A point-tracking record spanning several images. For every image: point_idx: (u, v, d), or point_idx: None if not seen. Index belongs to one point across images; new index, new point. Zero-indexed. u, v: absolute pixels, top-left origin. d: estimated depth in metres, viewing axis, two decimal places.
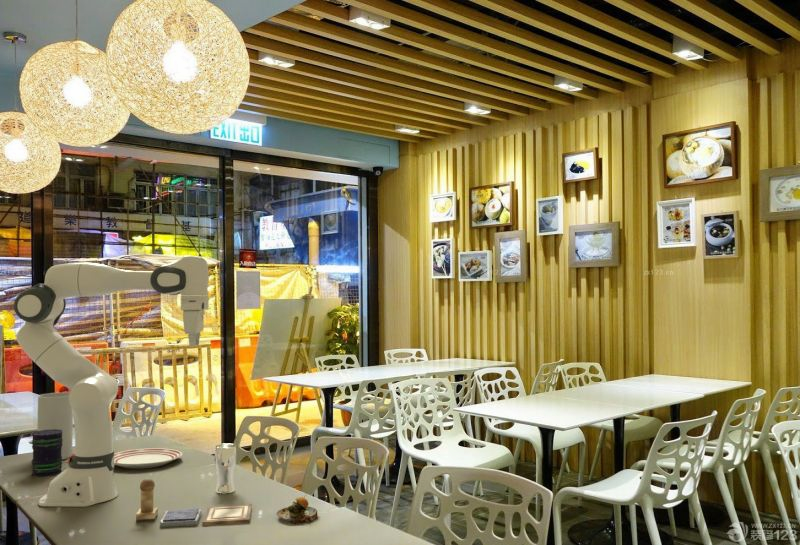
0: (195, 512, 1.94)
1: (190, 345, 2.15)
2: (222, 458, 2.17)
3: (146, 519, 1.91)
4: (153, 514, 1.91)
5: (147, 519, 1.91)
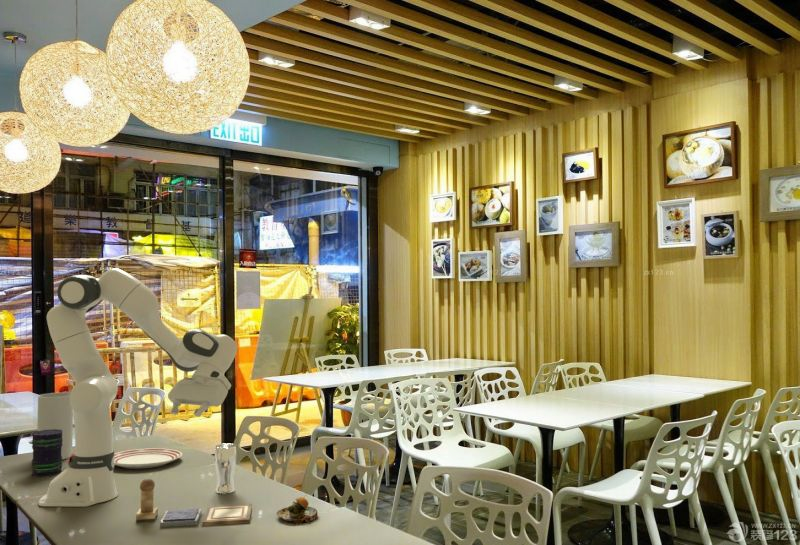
0: (195, 512, 1.94)
1: (198, 412, 2.05)
2: (222, 458, 2.17)
3: (146, 519, 1.91)
4: (153, 514, 1.91)
5: (147, 519, 1.91)
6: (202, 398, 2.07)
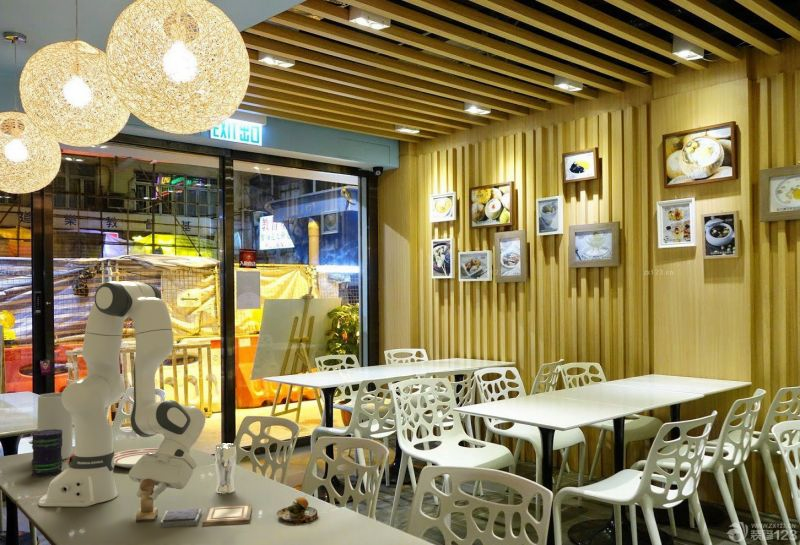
0: (195, 512, 1.94)
1: (154, 495, 1.92)
2: (222, 458, 2.17)
3: (146, 519, 1.91)
4: (153, 514, 1.91)
5: (147, 518, 1.91)
6: (164, 480, 1.93)
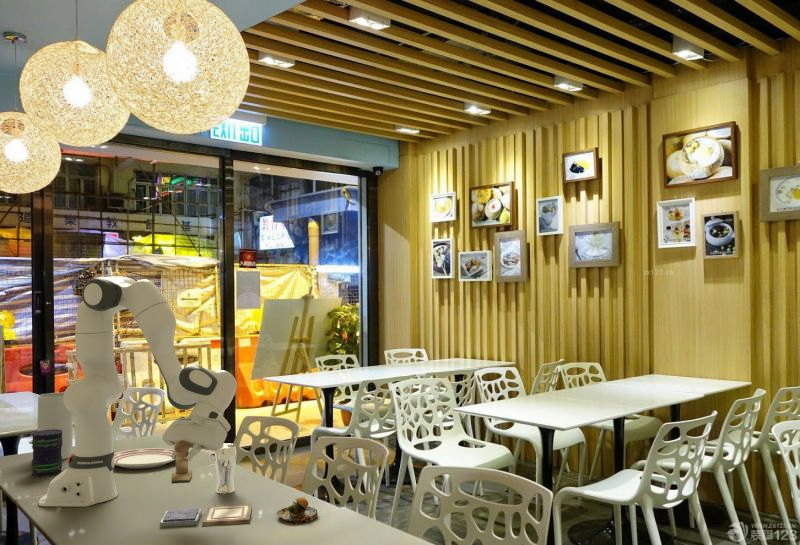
0: (195, 512, 1.94)
1: (189, 456, 1.91)
2: (222, 458, 2.17)
3: (181, 480, 1.90)
4: (188, 475, 1.90)
5: (183, 480, 1.90)
6: (199, 441, 1.92)
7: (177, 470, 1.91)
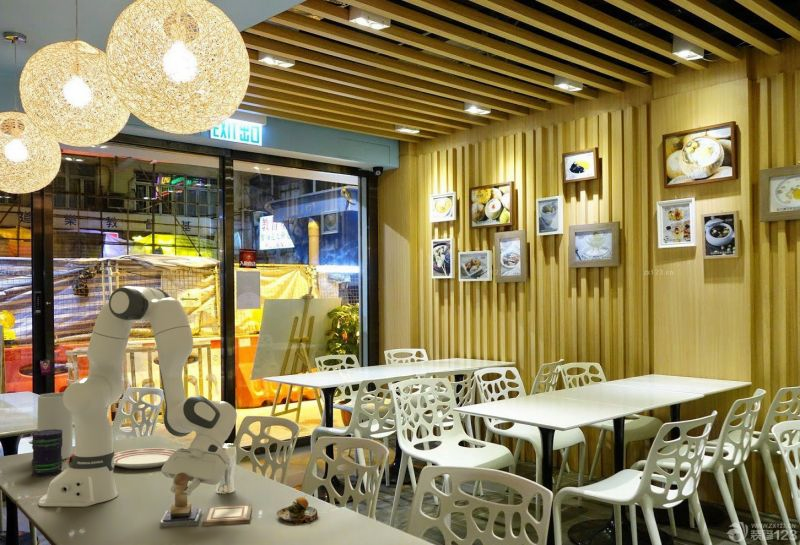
0: (195, 512, 1.94)
1: (188, 491, 1.91)
2: None
3: (180, 513, 1.90)
4: (187, 508, 1.90)
5: (182, 513, 1.90)
6: (199, 475, 1.92)
7: (176, 503, 1.91)
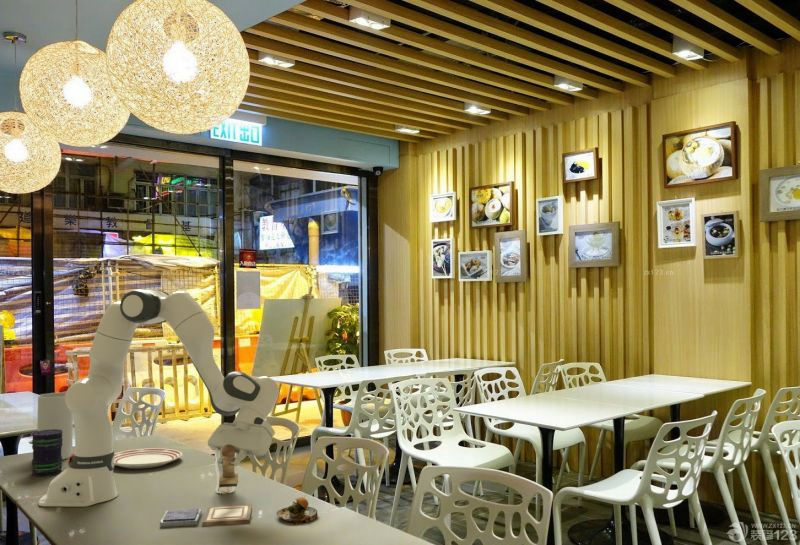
0: (195, 512, 1.94)
1: (236, 462, 1.94)
2: None
3: (229, 484, 1.93)
4: (235, 479, 1.94)
5: (230, 483, 1.93)
6: (246, 447, 1.95)
7: (224, 474, 1.94)
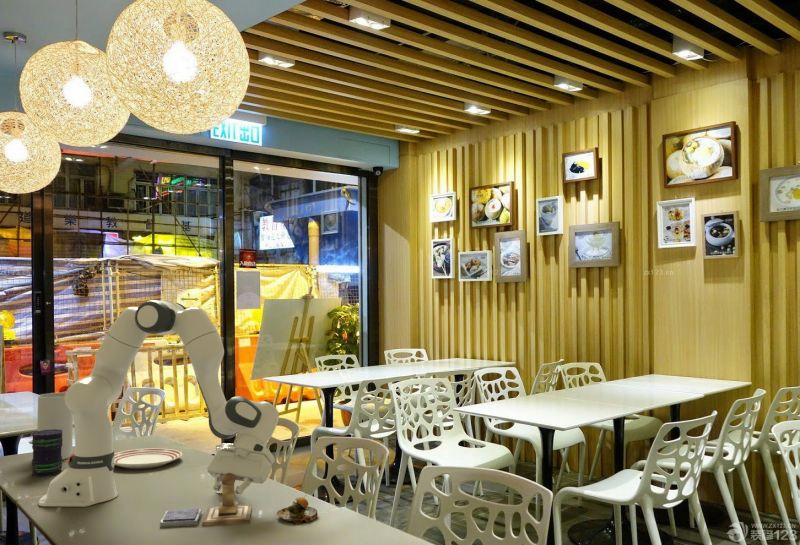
0: (195, 512, 1.94)
1: (240, 490, 1.93)
2: None
3: (228, 513, 1.93)
4: (235, 508, 1.93)
5: (229, 512, 1.93)
6: (245, 474, 1.95)
7: (224, 503, 1.94)
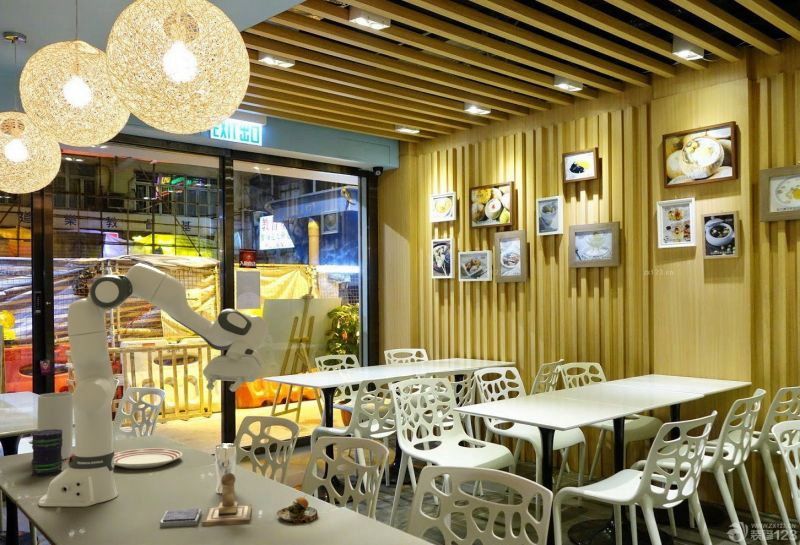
0: (195, 512, 1.94)
1: (234, 387, 2.14)
2: (222, 458, 2.17)
3: (228, 513, 1.93)
4: (235, 508, 1.93)
5: (229, 512, 1.93)
6: (237, 374, 2.16)
7: (224, 503, 1.94)
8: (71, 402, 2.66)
